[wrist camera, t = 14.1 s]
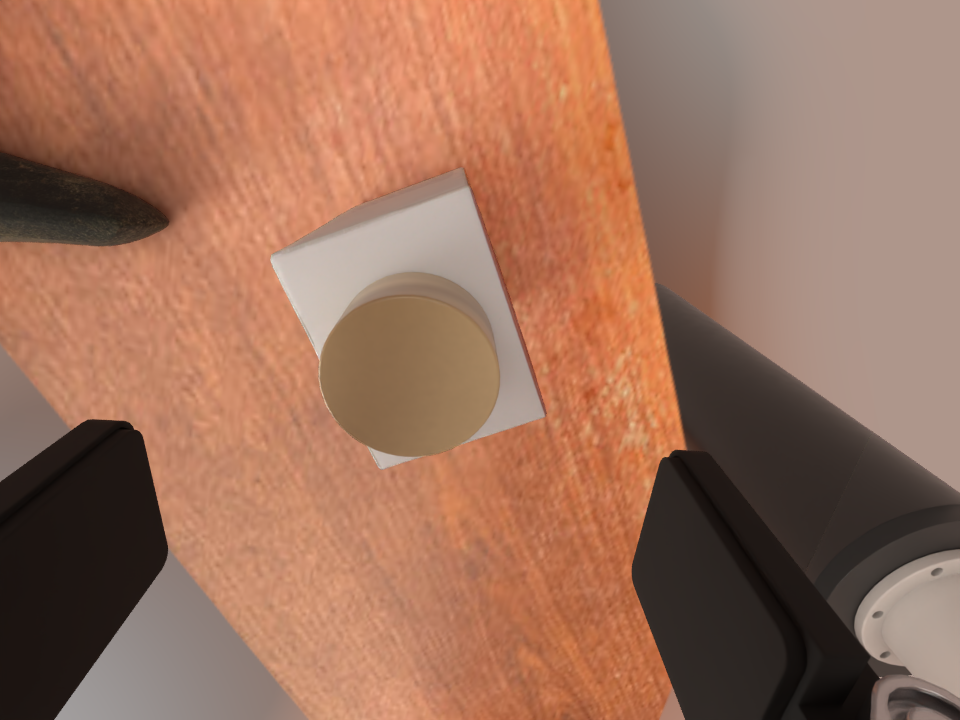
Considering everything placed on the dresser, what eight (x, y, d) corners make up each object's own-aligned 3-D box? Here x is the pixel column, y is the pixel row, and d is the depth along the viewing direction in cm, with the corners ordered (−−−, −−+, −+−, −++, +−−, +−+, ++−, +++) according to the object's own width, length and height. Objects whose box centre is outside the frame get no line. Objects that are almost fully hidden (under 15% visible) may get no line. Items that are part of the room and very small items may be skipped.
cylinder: (501, 277, 14) (509, 301, 12) (487, 418, 16) (492, 461, 14) (334, 265, 14) (312, 289, 12) (340, 411, 16) (321, 454, 14)
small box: (512, 304, 28) (551, 422, 16) (410, 339, 29) (377, 477, 17) (465, 161, 25) (470, 180, 13) (351, 204, 26) (259, 259, 14)
